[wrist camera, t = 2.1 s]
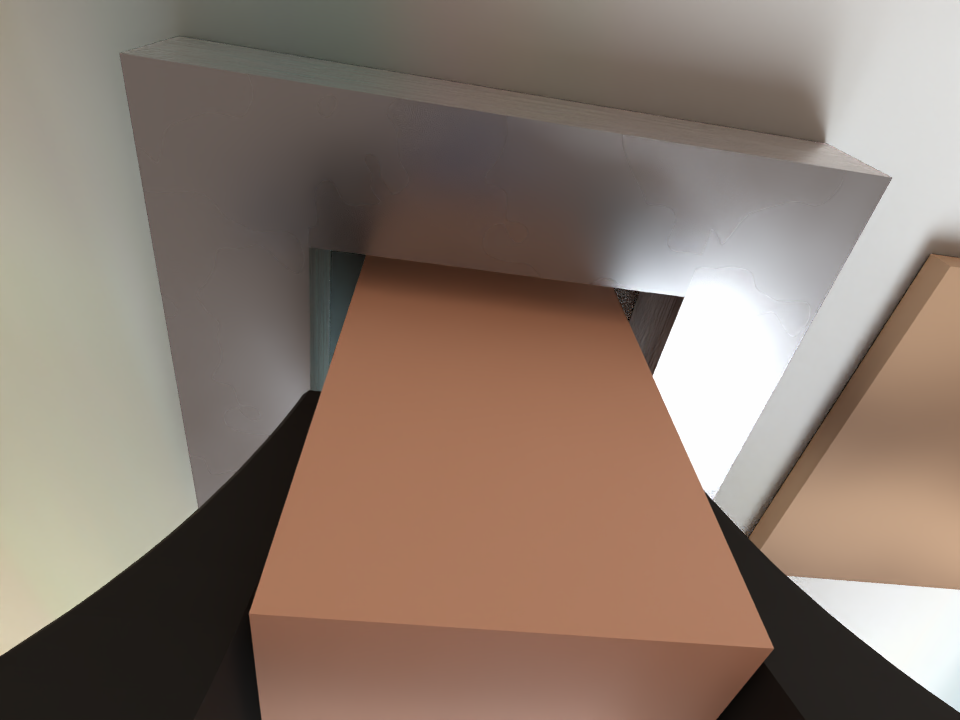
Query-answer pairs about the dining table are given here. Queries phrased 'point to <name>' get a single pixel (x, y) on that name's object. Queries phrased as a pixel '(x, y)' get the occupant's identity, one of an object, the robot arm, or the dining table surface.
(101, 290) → the dining table surface
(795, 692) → the robot arm
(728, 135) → the square socket
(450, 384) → the terracotta block
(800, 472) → the walnut pad
